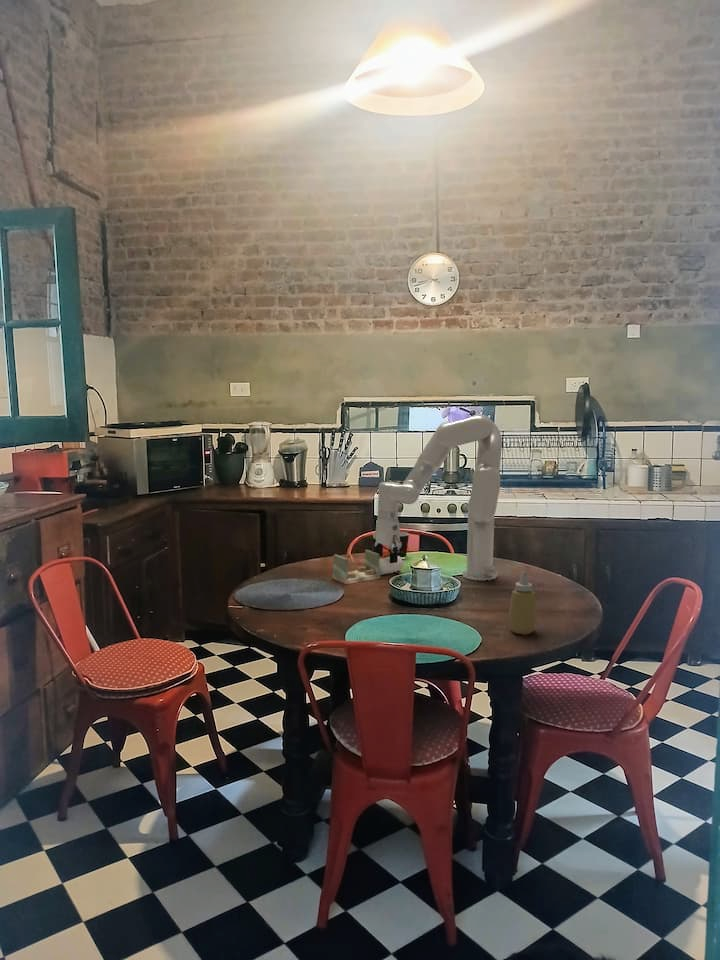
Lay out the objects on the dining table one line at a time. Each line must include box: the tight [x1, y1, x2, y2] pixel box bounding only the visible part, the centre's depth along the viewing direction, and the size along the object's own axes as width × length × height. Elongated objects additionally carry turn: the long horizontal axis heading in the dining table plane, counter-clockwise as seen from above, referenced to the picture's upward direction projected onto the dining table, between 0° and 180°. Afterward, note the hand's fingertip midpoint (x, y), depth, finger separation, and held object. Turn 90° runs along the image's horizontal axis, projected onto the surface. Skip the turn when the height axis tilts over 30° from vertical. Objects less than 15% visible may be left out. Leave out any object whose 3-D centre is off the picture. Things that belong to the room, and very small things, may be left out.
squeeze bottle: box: [508, 570, 537, 635], centre depth 215 cm, size 8×8×18 cm
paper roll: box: [379, 556, 404, 576], centre depth 279 cm, size 10×6×6 cm, turn 123°
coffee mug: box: [382, 531, 410, 557], centre depth 302 cm, size 12×9×10 cm
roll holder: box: [332, 549, 381, 585], centre depth 271 cm, size 15×9×9 cm, turn 123°
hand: (386, 559), depth 278 cm, fingers open, 9 cm apart
